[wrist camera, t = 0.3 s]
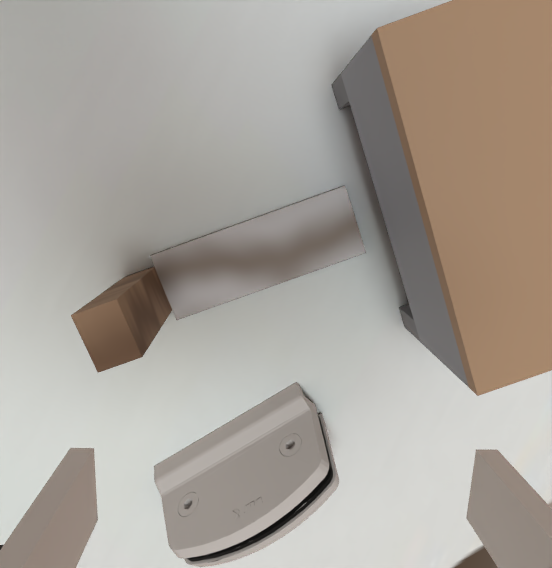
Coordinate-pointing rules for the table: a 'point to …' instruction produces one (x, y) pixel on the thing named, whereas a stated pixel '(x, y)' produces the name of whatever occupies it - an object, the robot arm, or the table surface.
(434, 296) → the low cabinet
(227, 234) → the wooden block bookend
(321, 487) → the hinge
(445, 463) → the table surface
